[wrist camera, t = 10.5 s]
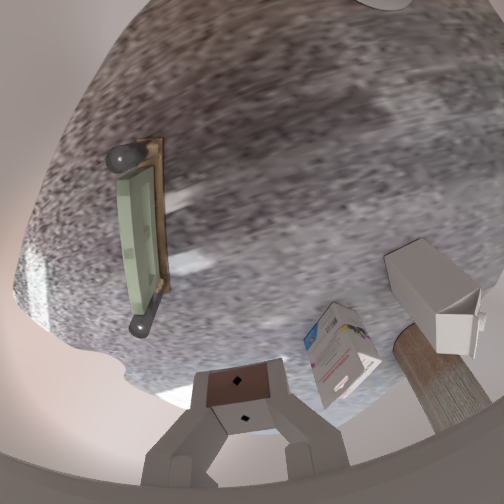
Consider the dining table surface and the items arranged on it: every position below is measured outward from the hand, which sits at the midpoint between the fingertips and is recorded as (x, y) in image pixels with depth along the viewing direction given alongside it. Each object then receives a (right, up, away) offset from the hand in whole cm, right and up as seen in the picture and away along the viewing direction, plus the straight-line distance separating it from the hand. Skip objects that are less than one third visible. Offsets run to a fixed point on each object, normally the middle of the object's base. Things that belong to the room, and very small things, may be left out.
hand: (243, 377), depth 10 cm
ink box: (+13, -7, +36) cm, 39 cm away
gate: (-12, +8, +26) cm, 30 cm away
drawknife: (-12, +9, +28) cm, 31 cm away
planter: (+31, -12, +39) cm, 52 cm away
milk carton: (+24, +2, +32) cm, 40 cm away
